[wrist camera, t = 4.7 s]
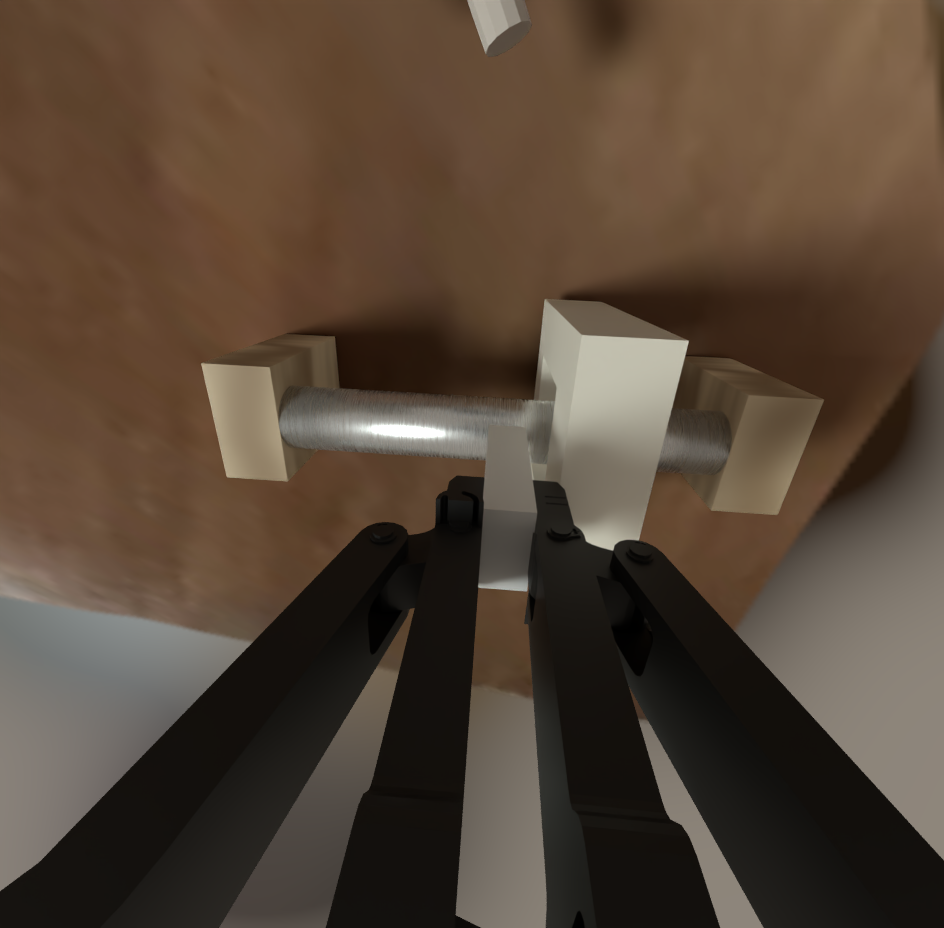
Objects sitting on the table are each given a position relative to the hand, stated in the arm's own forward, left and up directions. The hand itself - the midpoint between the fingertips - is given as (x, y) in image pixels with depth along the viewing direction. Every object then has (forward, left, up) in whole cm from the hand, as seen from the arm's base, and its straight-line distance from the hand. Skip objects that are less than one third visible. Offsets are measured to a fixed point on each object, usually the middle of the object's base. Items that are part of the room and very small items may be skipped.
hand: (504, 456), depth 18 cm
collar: (0, +3, -8) cm, 9 cm away
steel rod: (0, 0, -5) cm, 5 cm away
